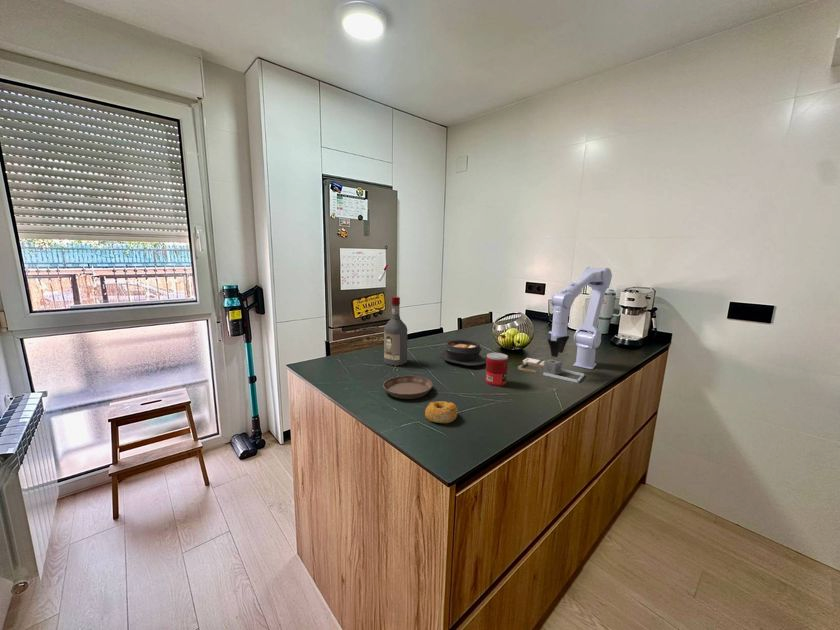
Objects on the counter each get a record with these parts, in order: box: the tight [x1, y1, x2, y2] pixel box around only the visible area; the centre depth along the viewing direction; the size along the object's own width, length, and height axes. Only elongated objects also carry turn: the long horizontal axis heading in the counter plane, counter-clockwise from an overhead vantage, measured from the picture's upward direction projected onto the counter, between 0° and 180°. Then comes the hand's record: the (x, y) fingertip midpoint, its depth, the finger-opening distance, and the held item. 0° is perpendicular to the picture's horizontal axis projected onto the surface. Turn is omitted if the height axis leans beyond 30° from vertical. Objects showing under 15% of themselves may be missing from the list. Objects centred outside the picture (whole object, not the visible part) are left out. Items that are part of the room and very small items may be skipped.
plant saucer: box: [382, 375, 433, 400], centre depth 119 cm, size 18×18×3 cm
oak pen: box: [517, 362, 544, 374], centre depth 145 cm, size 10×8×1 cm
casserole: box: [439, 339, 486, 367], centre depth 154 cm, size 25×19×8 cm
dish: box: [522, 357, 541, 364], centre depth 154 cm, size 6×6×1 cm
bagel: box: [424, 400, 459, 424], centre depth 100 cm, size 10×11×5 cm
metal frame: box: [542, 368, 585, 383], centre depth 137 cm, size 10×14×1 cm
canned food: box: [485, 352, 509, 387], centre depth 127 cm, size 8×8×11 cm
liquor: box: [383, 296, 408, 367], centre depth 148 cm, size 9×9×30 cm
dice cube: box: [543, 358, 563, 375], centre depth 140 cm, size 5×5×5 cm
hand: (557, 354), depth 137 cm, fingers open, 7 cm apart
